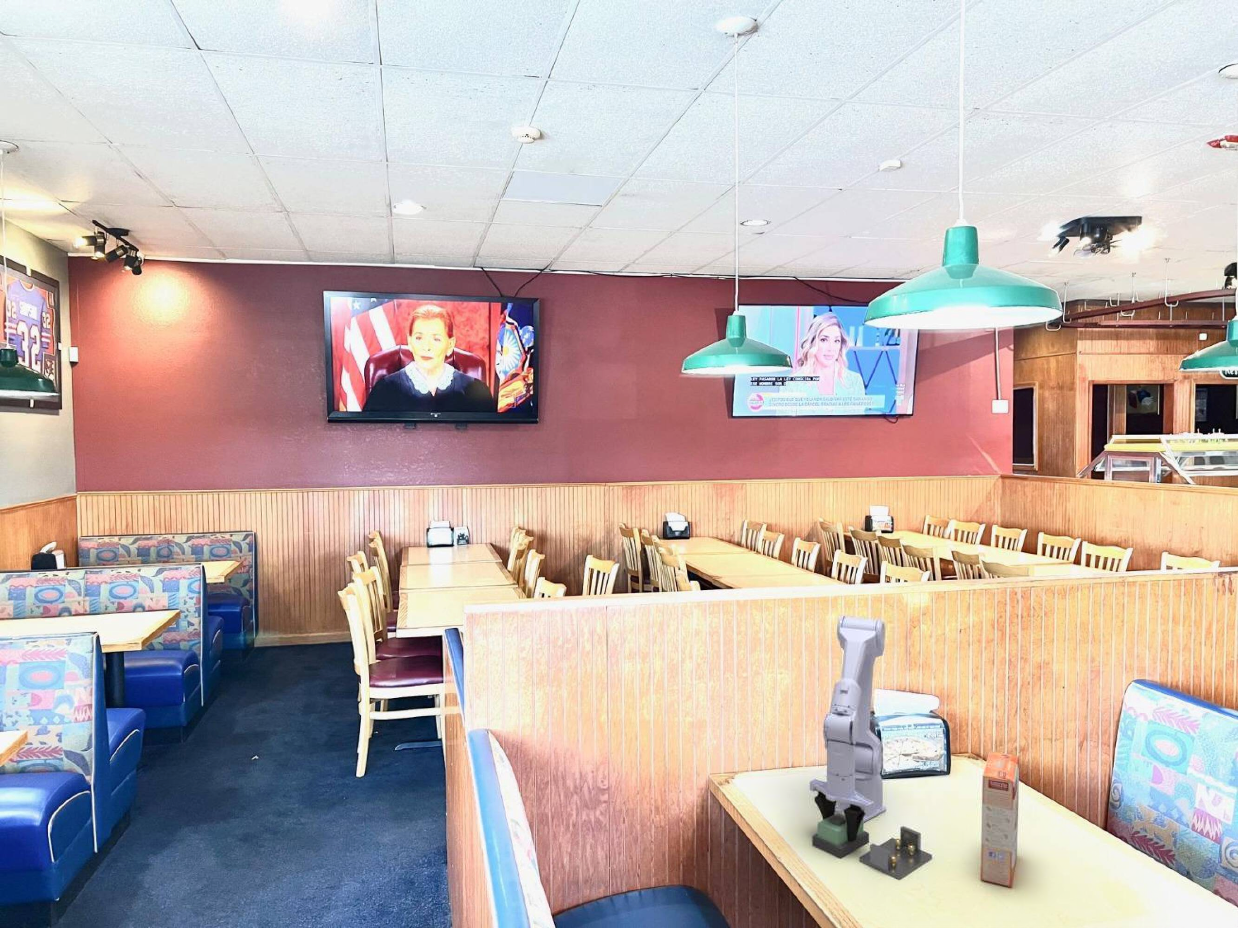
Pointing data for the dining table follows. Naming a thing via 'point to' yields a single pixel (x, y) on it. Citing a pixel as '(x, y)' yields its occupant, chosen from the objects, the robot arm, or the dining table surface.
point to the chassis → (897, 854)
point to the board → (836, 829)
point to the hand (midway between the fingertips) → (840, 834)
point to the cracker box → (999, 818)
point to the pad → (843, 848)
